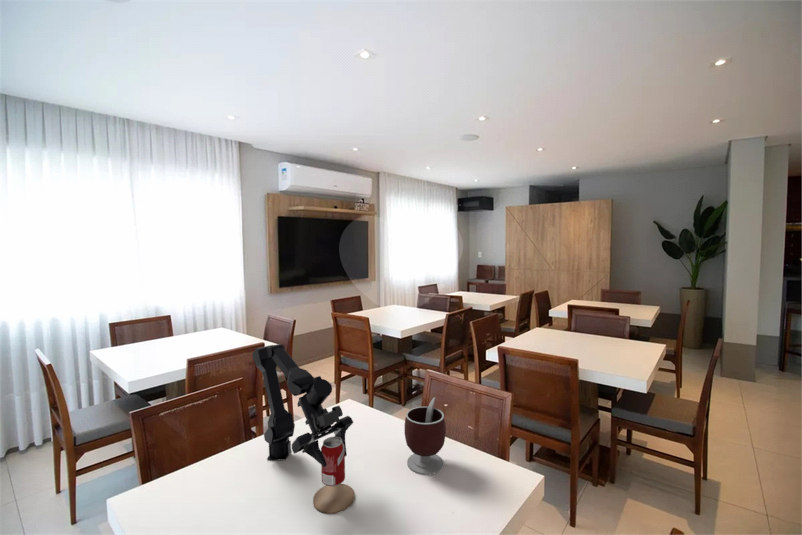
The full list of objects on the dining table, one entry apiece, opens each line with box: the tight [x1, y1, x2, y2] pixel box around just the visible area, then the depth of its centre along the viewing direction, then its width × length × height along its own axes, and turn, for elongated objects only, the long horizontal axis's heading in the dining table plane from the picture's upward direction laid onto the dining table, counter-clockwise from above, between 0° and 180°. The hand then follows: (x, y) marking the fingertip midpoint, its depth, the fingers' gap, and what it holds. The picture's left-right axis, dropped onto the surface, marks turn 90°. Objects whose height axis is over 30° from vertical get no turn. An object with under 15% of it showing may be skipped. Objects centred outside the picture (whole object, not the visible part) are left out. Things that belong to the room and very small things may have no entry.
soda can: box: [320, 436, 346, 486], centre depth 108 cm, size 7×7×12 cm
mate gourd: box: [404, 396, 447, 476], centre depth 126 cm, size 16×14×20 cm
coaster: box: [312, 483, 356, 515], centre depth 108 cm, size 12×12×1 cm
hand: (335, 461), depth 107 cm, fingers closed on soda can, 7 cm apart
